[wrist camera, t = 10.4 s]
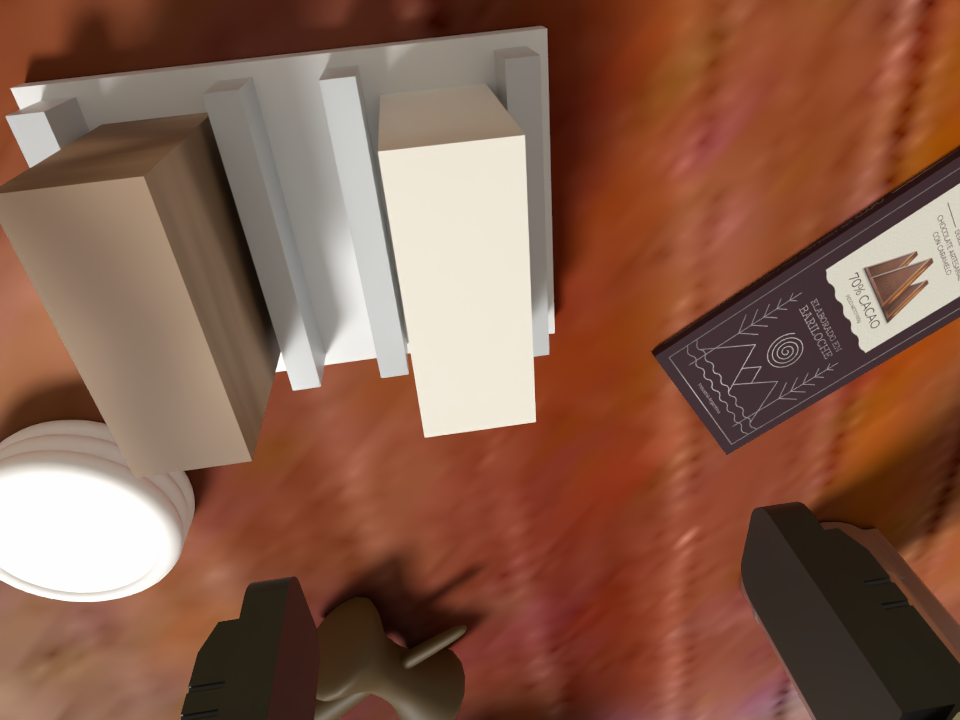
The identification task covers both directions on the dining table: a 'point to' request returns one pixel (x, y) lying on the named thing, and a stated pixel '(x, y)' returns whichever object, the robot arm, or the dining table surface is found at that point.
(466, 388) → the cream rectangular block
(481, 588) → the dining table surface
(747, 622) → the dining table surface
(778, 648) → the robot arm
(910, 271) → the chocolate bar
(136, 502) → the white round tin
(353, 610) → the kendama
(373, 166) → the dish rack
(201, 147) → the brown rectangular block
